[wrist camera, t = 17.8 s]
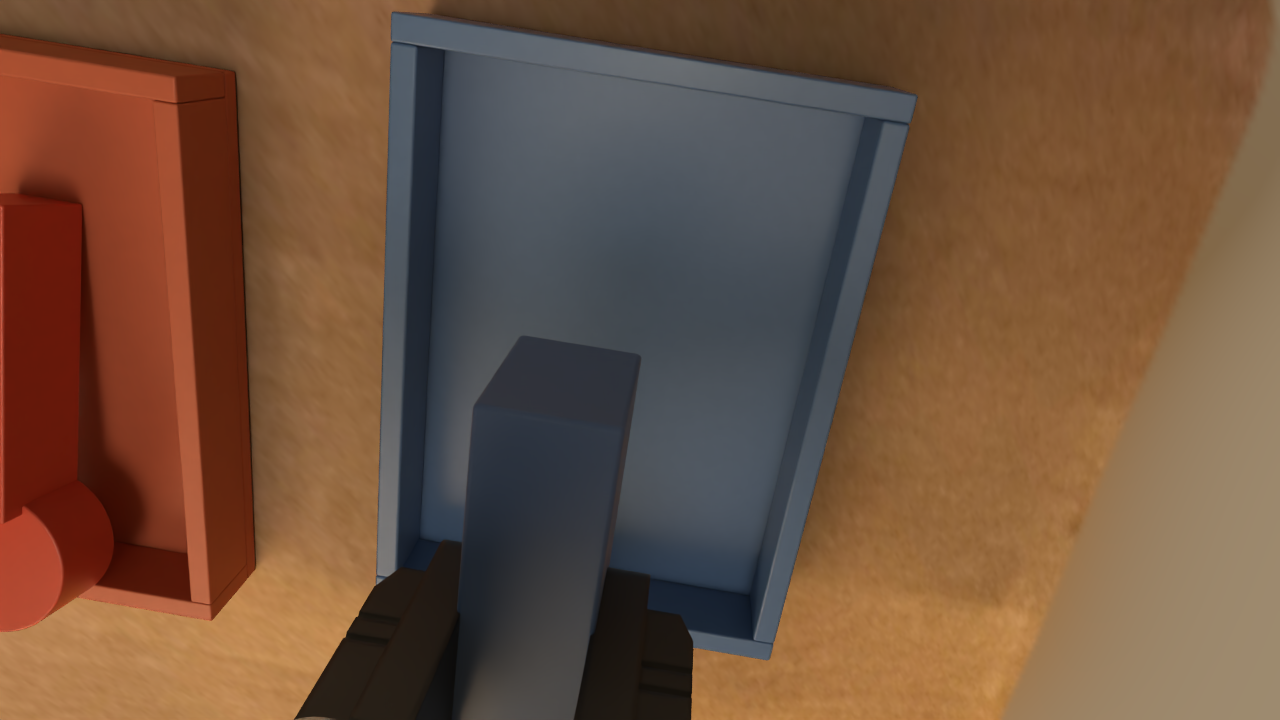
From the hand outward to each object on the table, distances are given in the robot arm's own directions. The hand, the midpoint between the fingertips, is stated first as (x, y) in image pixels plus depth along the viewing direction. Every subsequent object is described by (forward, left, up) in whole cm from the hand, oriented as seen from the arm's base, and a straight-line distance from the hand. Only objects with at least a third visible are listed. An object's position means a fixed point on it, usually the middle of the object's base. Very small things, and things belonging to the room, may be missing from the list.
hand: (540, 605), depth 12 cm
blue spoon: (+1, +1, -1) cm, 1 cm away
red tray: (+14, -8, -11) cm, 19 cm away
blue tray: (0, 0, -11) cm, 11 cm away
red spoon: (+14, -7, -9) cm, 18 cm away
